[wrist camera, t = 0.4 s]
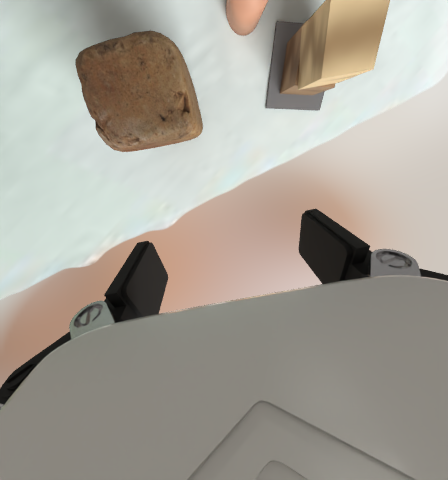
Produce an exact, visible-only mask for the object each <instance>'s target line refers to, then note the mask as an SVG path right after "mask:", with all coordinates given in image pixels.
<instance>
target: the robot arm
mask: <svg viewBox="0 0 448 480" xmlns="http://www.w3.org/2000/svg"><path fill="white" fill-rule="evenodd" d="M369 248H370V246H369V245H368V244H366V243H365V242H364V241H362V240H361V239H359V238H358V237H356V236H355V235H353V234H352V233H351V232H349V231H348V230H346V229H345V228H343V227H342V226H340V225H339V224H338V223H336V222H335V221H333V220H332V219H330V218H329V217H328V216H326V215H325V214H323V213H322V212H320V211H319V210H317V209H312V210H307V211H305V213H304V214H302V220H301V230H300V241H299V253H300V255H301V256H302V258H303V259H304V260H305V261H306V263H307V264H308V265H309V267H310V268H311V269H312V271H313V272H314V273H315V275H316V276H317V277H318V278H319V280H320V281H321V282H322V284H321V285H315V286H310V287H304V288H298V289H293V290H287V291H281V292H275V293H270V294H265V295H259V296H253V297H248V298H242V299H236V300H231V301H225V302H220V303H214V304H210V305H204V306H198V307H193V308H188V309H182V310H177V311H171V312H166V313H161V314H159V310H160V306H161V302H162V299H163V295H164V292H165V287H166V284H167V280H168V274H167V272H166V270H165V268H164V266H163V264H162V262H161V260H160V258H159V256H158V254H157V252H156V249H155V247H154V245H153V244H152V243H149V241H144V242H139V243H137V245H136V246H135V248H134V249H133V251H132V252H131V254H130V255H129V257H128V258H127V260H126V262H125V263H124V265H123V267H122V268H121V270H120V271H119V273H118V274H117V276H116V277H115V279H114V281H113V282H112V284H111V285H110V287H109V288H108V290H107V291H106V293H105V296H106V299H105V301H97V302H93V303H91V304H89V305H87V306H85V307H84V308H82V309H81V310H80V311H79V312H78V313H77V314H76V315H75V316H74V317H73V319H72V320H71V322H70V327H69V328H70V332H68V333H67V334H66V335H64V336H63V337H61V338H60V339H59V340H57V341H56V342H54V343H53V344H51V345H50V346H49V347H47V348H46V349H44V350H43V351H42V352H40V353H39V354H37V355H36V356H34V357H33V358H32V359H30V360H29V361H28V362H26V363H25V364H23V365H22V366H21V367H19V368H18V369H16V370H15V371H14V372H13V373H12V374H11V375H10V376H9V377H8V379H7V380H6V381H5V383H4V384H3V385H2V387H1V388H0V480H448V275H444V274H440V273H436V272H432V271H428V270H423V269H419V266H418V264H417V262H416V260H415V259H414V258H412V257H411V256H409V255H407V254H405V253H402V252H400V251H396V250H390V249H379V250H375V251H374V252H371V251H370V250H369Z"/></svg>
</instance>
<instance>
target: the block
mask: <svg viewBox="0 0 448 480" xmlns="http://www.w3.org/2000/svg"><path fill="white" fill-rule="evenodd" d="M76 68H77V73H78V77H79V79H80V82H81V84H82V93H83V97H84V100H85V102H86V105H87V108H88V110H89V113H90V115H91V117H92V118H93V119H94V120H95V121H96V130H97V132H98V134H99V136H100V137H101V138H102V140H103V141H104V142H105V143H106V144H107V145H108V146H110V147H111V148H112V149H114V150H117V151H122V152H130V151H138V150H144V149H150V148H155V147H160V146H165V145H170V144H175V143H180V142H184V141H188V140H191V139H194V138H196V137H198V136H199V135H200V134H201V132H202V129H203V124H202V118H201V114H200V110H199V106H198V101H197V97H196V93H195V90H194V86H193V83H192V80H191V77H190V74H189V71H188V68H187V65H186V63H185V61H184V58H183V56H182V54H181V52H180V51H179V49H178V47H177V46H176V45H175V43H174V42H173V41H171V40H170V39H169V38H168V37H166V36H164V35H162V34H161V33H158V32H154V31H144V32H135V33H132V34H130V35H128V36H125V37H120V38H115V39H110V40H107V41H104V42H101V43H98V44H96V45H93V46H91V47H88V48H86V49H84V50H83V51H81V52H80V53H79V55H78V57H77V58H76Z"/></svg>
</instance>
